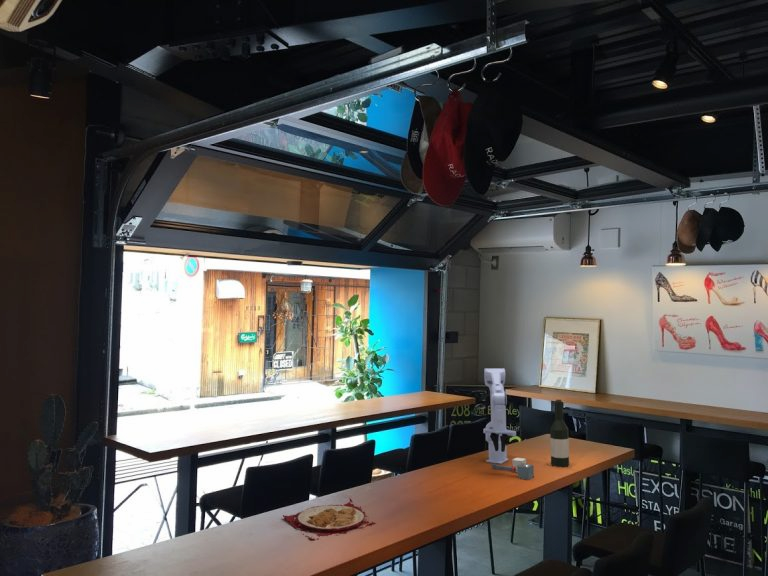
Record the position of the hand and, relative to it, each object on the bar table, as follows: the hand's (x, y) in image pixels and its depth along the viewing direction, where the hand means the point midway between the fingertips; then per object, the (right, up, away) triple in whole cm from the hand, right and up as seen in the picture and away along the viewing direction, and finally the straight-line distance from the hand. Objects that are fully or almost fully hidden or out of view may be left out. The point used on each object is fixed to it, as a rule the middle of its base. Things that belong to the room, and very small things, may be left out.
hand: (499, 451), depth 263 cm
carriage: (+9, -10, +3) cm, 14 cm away
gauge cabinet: (+10, -10, -7) cm, 15 cm away
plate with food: (-69, -9, -59) cm, 91 cm away
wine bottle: (+31, -11, +14) cm, 35 cm away
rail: (+6, -10, +4) cm, 13 cm away
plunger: (+7, -8, -5) cm, 11 cm away
